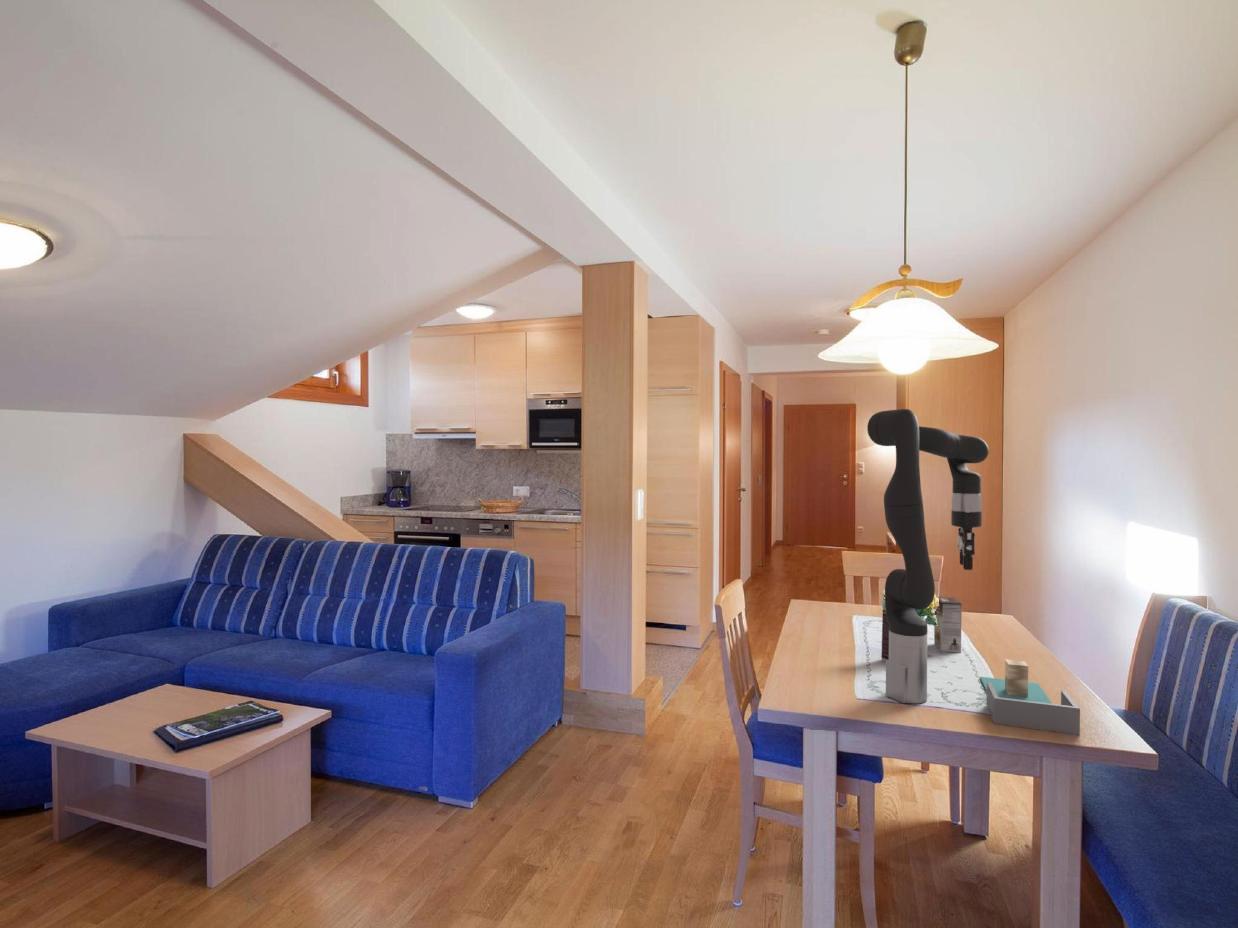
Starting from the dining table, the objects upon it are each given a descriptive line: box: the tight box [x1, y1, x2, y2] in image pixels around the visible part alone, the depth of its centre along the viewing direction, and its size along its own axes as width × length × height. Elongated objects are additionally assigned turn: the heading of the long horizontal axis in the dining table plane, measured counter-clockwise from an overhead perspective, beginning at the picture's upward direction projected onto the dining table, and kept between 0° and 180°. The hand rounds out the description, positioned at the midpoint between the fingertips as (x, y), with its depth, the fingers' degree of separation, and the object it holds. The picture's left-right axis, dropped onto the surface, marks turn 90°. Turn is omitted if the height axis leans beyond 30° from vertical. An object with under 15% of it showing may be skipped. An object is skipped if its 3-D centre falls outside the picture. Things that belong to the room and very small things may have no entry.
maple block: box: [1004, 658, 1029, 697], centre depth 174 cm, size 4×4×8 cm
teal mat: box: [979, 676, 1053, 704], centre depth 176 cm, size 14×18×1 cm
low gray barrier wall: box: [986, 682, 1081, 736], centre depth 158 cm, size 17×12×6 cm
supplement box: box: [881, 608, 889, 663], centre depth 203 cm, size 9×5×16 cm, turn 105°
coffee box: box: [933, 596, 963, 653], centre depth 217 cm, size 9×6×16 cm
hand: (965, 567), depth 184 cm, fingers open, 8 cm apart
